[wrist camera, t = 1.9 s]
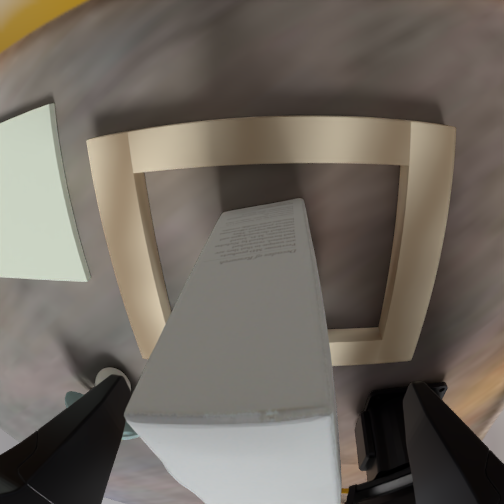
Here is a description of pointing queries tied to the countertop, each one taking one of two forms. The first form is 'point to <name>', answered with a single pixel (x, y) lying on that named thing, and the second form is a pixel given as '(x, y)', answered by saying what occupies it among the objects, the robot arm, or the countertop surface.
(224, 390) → the skincare box
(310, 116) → the wooden frame
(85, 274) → the sage mat
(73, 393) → the pacifier
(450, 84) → the countertop surface
